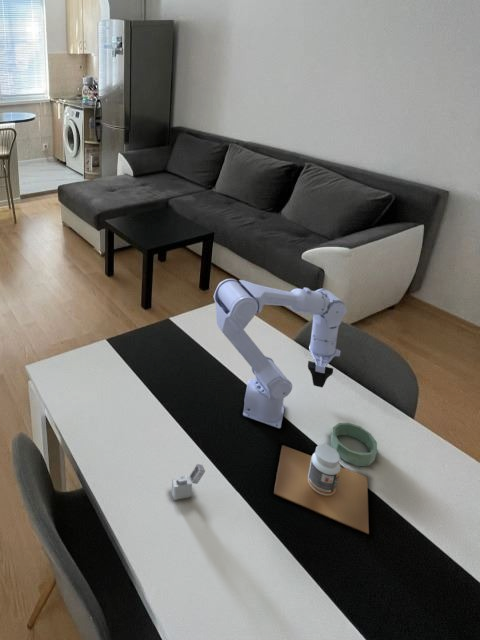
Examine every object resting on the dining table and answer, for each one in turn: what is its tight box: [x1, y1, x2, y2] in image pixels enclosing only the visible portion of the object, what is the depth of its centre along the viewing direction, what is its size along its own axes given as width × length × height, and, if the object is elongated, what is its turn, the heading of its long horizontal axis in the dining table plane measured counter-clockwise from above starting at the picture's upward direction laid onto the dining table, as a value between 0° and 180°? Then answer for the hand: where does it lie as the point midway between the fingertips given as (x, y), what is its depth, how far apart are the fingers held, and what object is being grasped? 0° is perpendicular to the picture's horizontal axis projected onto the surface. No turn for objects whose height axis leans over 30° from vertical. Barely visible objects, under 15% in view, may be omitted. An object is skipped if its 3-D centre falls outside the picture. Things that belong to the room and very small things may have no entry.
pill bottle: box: [308, 443, 342, 496], centre depth 95 cm, size 6×6×10 cm
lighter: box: [171, 463, 206, 501], centre depth 96 cm, size 7×2×8 cm, turn 99°
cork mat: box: [273, 444, 370, 535], centre depth 97 cm, size 18×14×1 cm
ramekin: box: [329, 422, 378, 467], centre depth 105 cm, size 9×9×4 cm
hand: (319, 375), depth 115 cm, fingers open, 7 cm apart
